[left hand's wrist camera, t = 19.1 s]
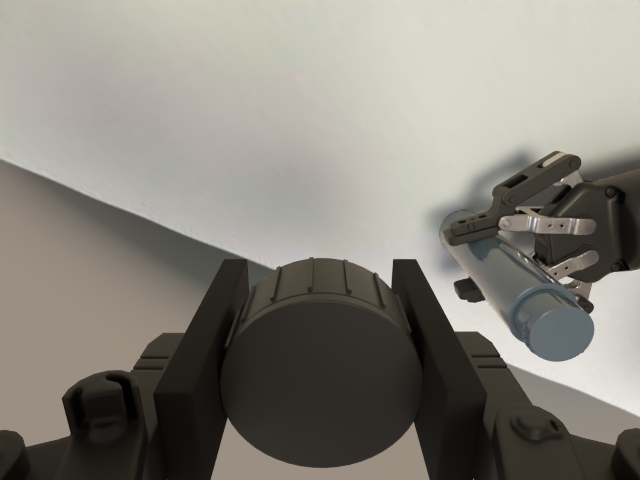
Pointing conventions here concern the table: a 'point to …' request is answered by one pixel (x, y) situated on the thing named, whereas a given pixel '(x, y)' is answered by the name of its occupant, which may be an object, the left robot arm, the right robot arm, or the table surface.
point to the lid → (321, 365)
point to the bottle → (524, 295)
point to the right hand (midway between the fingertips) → (452, 265)
